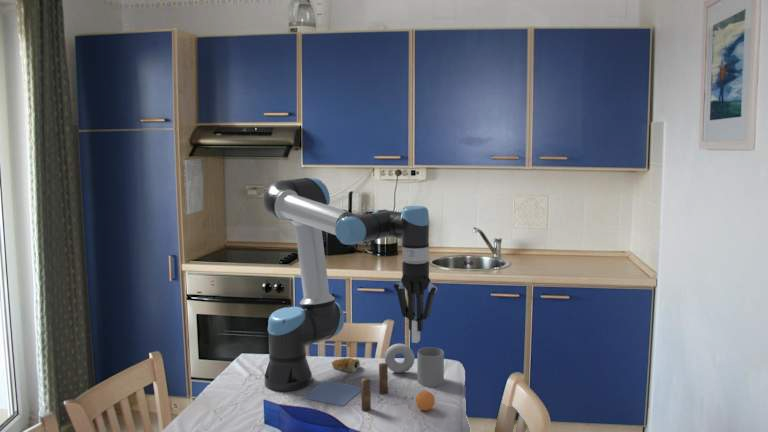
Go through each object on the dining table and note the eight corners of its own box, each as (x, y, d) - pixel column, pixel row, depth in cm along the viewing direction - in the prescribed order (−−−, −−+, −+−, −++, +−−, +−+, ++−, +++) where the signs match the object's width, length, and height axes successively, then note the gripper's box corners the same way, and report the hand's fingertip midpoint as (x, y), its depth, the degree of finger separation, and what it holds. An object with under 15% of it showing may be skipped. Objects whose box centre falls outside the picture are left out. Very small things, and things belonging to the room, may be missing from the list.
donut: (414, 370, 222) (414, 342, 220) (414, 374, 218) (414, 345, 217) (384, 370, 222) (384, 341, 221) (384, 374, 219) (384, 345, 217)
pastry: (328, 370, 223) (328, 359, 223) (337, 363, 230) (337, 352, 229) (353, 374, 220) (353, 363, 219) (361, 367, 226) (361, 356, 225)
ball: (412, 412, 191) (412, 393, 190) (419, 404, 196) (419, 386, 195) (430, 415, 189) (431, 397, 188) (437, 407, 194) (437, 389, 193)
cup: (441, 387, 208) (442, 357, 206) (415, 385, 209) (415, 355, 208) (444, 377, 216) (445, 348, 214) (419, 375, 218) (419, 346, 216)
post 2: (377, 393, 204) (377, 365, 202) (381, 390, 206) (381, 362, 205) (385, 394, 203) (385, 366, 201) (389, 391, 205) (388, 363, 204)
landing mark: (302, 398, 201) (302, 397, 201) (324, 381, 213) (324, 380, 213) (343, 405, 195) (343, 405, 195) (363, 388, 208) (363, 387, 208)
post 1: (360, 410, 192) (359, 380, 191) (364, 406, 195) (363, 377, 193) (368, 411, 191) (368, 382, 190) (372, 408, 194) (371, 378, 192)
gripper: (389, 261, 186) (389, 342, 190) (433, 265, 181) (433, 348, 184) (399, 256, 193) (399, 334, 196) (441, 260, 188) (441, 340, 191)
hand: (416, 341), depth 190 cm, fingers closed
